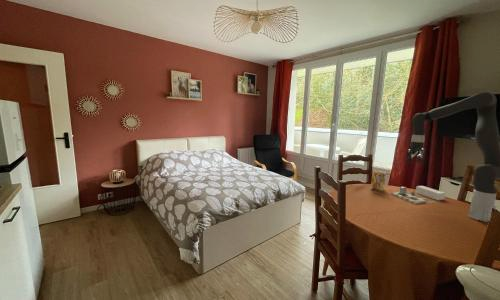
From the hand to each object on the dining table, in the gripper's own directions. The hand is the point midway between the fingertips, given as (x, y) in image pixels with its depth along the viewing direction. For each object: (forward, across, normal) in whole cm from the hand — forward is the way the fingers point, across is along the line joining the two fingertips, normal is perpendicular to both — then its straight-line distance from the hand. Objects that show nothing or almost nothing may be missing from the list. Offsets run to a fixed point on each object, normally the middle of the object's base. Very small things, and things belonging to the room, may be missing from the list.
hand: (414, 163), depth 158 cm
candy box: (+26, -12, +18) cm, 34 cm away
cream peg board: (+26, -7, -4) cm, 27 cm away
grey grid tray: (+26, +3, -4) cm, 27 cm away
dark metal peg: (+26, -7, 0) cm, 27 cm away
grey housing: (+26, +14, -4) cm, 30 cm away
